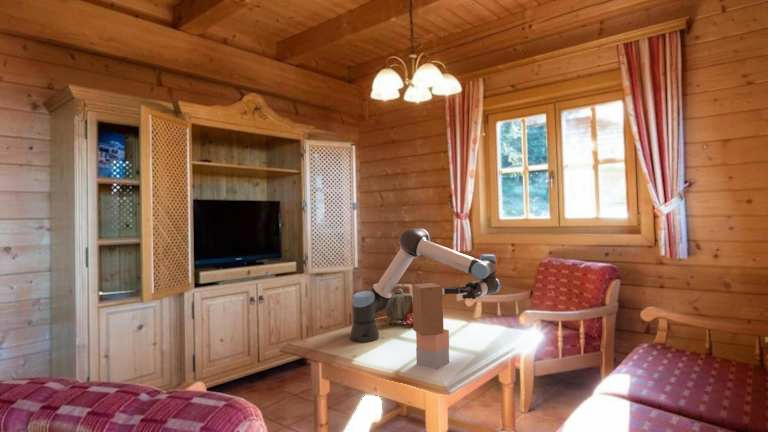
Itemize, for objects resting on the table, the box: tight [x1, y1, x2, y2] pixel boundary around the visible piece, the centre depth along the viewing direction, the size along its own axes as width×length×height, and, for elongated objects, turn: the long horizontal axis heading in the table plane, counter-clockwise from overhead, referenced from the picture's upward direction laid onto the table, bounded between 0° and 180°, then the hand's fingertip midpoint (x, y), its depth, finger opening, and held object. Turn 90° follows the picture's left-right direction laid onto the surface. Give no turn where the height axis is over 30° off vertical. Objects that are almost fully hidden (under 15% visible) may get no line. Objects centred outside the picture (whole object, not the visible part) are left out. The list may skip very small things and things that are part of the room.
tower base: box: [415, 346, 450, 370], centre depth 192 cm, size 10×10×7 cm
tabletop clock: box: [384, 280, 413, 325], centre depth 260 cm, size 14×9×25 cm, turn 126°
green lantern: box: [393, 283, 413, 319], centre depth 275 cm, size 10×10×20 cm
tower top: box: [415, 328, 450, 352], centre depth 192 cm, size 10×10×7 cm
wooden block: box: [412, 282, 444, 336], centre depth 190 cm, size 10×10×20 cm
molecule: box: [403, 303, 445, 326], centre depth 260 cm, size 25×11×16 cm, turn 125°
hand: (445, 295), depth 198 cm, fingers open, 13 cm apart
